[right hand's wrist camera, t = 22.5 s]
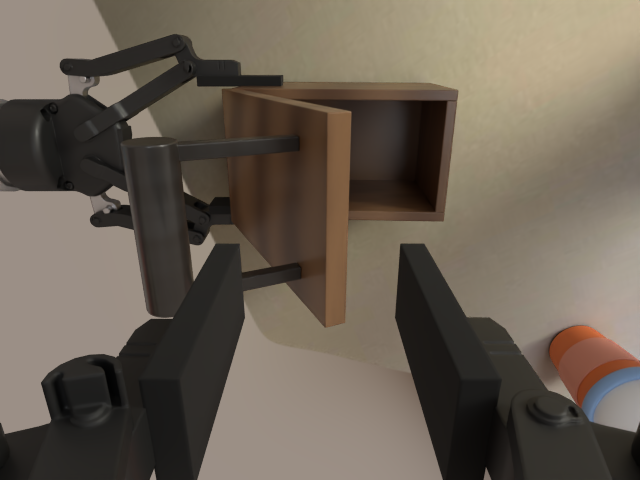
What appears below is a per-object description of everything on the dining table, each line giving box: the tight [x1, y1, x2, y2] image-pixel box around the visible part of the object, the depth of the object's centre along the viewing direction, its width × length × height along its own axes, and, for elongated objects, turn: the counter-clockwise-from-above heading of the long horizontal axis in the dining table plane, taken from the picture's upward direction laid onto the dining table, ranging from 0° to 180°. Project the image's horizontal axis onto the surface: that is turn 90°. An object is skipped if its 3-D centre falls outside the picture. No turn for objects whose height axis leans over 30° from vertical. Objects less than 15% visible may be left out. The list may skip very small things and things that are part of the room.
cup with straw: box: [549, 326, 640, 432], centre depth 45 cm, size 9×9×18 cm
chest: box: [232, 82, 458, 221], centre depth 38 cm, size 16×10×11 cm, turn 90°
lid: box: [120, 89, 351, 328], centre depth 25 cm, size 17×10×8 cm
